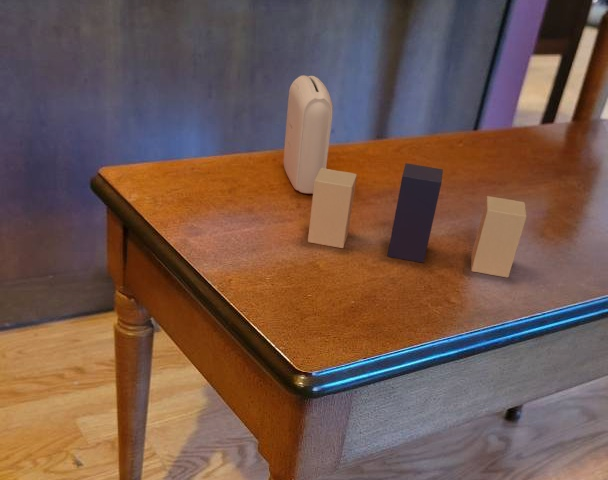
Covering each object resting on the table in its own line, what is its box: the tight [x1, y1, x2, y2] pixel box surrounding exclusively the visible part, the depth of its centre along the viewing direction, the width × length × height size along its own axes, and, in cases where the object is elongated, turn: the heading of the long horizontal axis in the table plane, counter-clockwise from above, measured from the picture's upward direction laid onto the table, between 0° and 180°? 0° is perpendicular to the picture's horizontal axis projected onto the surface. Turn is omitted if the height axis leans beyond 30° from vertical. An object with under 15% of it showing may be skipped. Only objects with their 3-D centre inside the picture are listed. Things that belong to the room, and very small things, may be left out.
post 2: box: [470, 195, 527, 279], centre depth 79 cm, size 4×4×7 cm
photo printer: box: [283, 75, 334, 195], centre depth 92 cm, size 10×4×12 cm, turn 11°
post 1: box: [307, 168, 358, 249], centre depth 80 cm, size 4×4×7 cm
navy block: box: [387, 162, 444, 264], centre depth 79 cm, size 4×4×9 cm
